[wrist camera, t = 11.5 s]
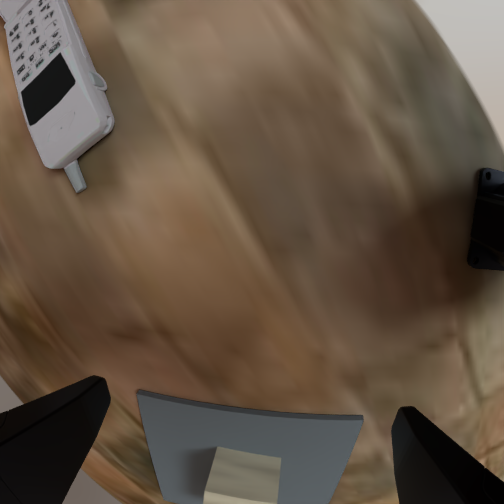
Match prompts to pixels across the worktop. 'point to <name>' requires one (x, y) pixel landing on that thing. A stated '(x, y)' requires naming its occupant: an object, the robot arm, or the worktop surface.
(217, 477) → the card box
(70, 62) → the mobile phone
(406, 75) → the worktop surface
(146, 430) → the rubber mat
